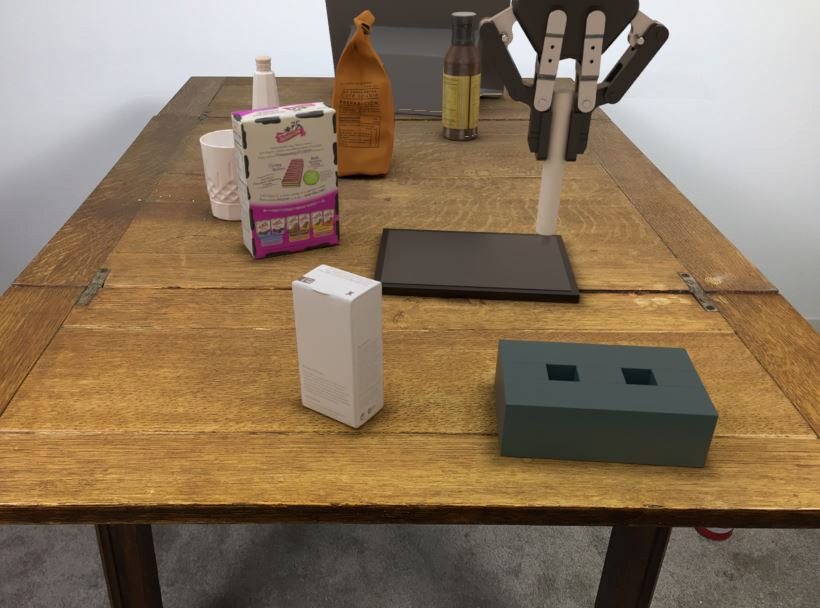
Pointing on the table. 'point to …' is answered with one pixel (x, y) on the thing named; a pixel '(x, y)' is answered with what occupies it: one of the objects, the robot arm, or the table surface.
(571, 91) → the stylus
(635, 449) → the pen stand
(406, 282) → the tablet
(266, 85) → the salt shaker
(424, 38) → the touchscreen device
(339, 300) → the cosmetic box
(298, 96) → the table surface
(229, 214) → the white cup
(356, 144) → the coffee package
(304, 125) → the candy bar box
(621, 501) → the table surface
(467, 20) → the sauce bottle
